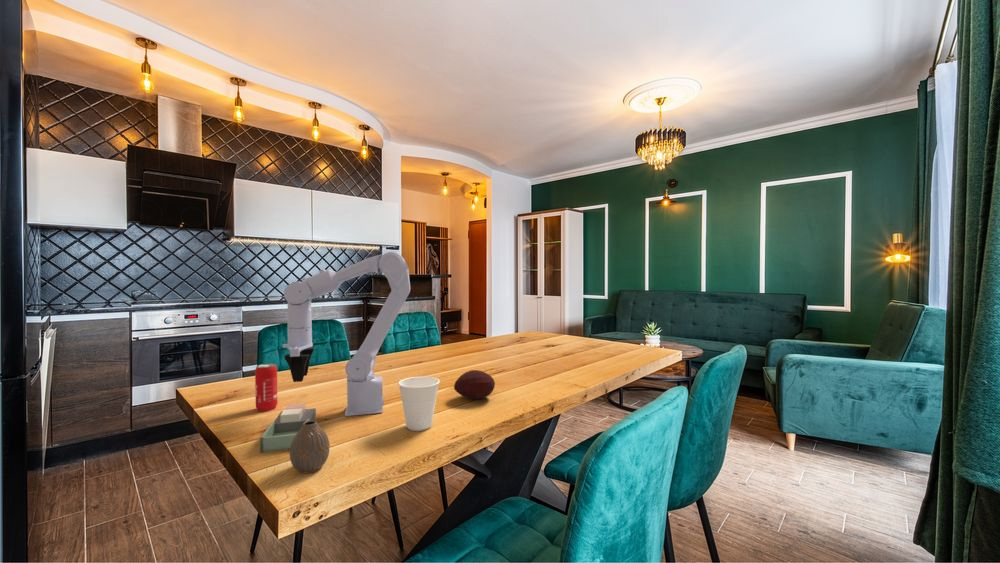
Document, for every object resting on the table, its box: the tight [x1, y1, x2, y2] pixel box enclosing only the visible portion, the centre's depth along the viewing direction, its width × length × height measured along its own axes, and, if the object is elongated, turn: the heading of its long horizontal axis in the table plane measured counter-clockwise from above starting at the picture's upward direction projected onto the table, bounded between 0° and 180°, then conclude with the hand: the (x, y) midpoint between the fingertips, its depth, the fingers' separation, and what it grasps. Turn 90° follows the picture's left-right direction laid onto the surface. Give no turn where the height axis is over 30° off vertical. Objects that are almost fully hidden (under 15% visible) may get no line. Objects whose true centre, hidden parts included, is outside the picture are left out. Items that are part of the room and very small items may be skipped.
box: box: [259, 419, 310, 454], centre depth 89 cm, size 8×10×3 cm
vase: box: [289, 420, 331, 474], centre depth 77 cm, size 7×7×9 cm
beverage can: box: [254, 363, 279, 412], centre depth 110 cm, size 5×5×12 cm
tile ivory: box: [280, 408, 303, 423], centre depth 95 cm, size 4×4×2 cm
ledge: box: [273, 407, 317, 433], centre depth 98 cm, size 8×9×2 cm
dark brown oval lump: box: [453, 369, 496, 400], centre depth 119 cm, size 12×11×8 cm
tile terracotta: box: [284, 402, 307, 414], centre depth 100 cm, size 4×4×2 cm
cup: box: [397, 376, 440, 432], centre depth 97 cm, size 10×10×11 cm
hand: (300, 378), depth 106 cm, fingers open, 5 cm apart
